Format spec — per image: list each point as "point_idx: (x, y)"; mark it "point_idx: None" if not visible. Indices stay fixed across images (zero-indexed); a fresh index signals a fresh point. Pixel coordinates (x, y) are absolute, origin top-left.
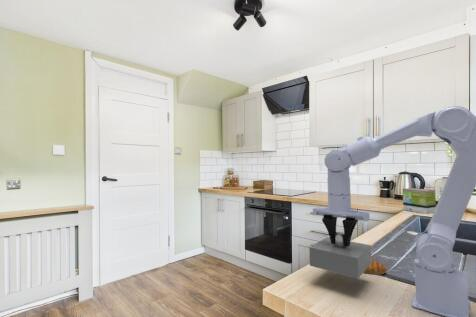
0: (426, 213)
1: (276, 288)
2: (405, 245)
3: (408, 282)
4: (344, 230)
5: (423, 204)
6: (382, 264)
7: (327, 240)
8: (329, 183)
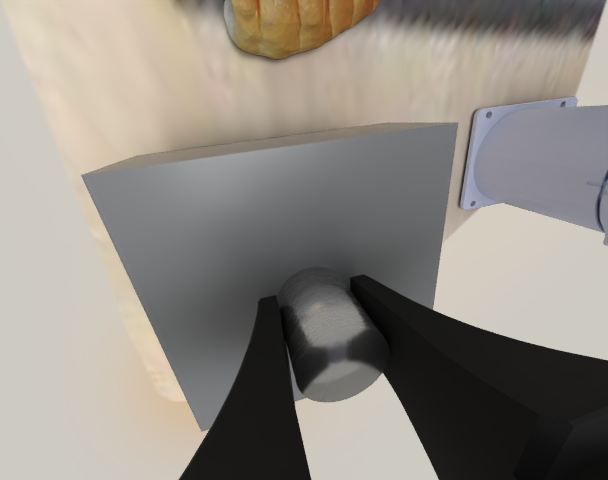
0: None
1: (167, 385)
2: None
3: (457, 18)
4: (422, 435)
5: None
6: None
7: (172, 265)
8: None
